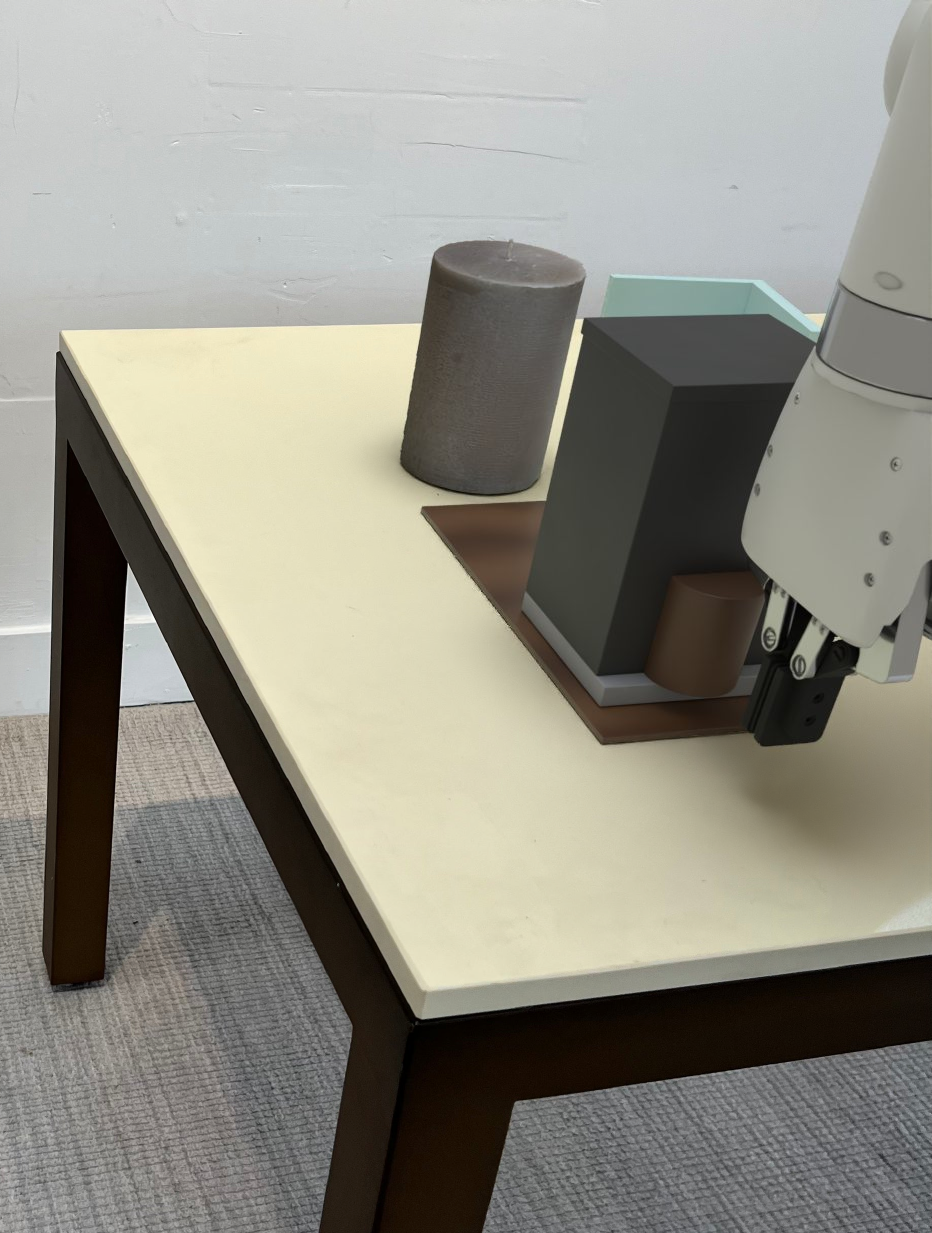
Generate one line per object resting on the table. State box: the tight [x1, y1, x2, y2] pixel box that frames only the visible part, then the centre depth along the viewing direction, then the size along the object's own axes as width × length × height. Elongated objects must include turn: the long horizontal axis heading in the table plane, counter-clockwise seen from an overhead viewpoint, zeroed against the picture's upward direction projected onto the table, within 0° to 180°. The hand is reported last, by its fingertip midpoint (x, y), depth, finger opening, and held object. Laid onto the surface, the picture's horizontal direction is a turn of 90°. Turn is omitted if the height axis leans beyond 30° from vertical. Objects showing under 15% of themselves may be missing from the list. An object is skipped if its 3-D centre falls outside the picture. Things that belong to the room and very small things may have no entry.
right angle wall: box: [599, 273, 822, 343], centre depth 106 cm, size 12×12×8 cm
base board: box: [420, 500, 751, 745], centre depth 80 cm, size 26×12×1 cm, turn 11°
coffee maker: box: [521, 314, 816, 707], centre depth 70 cm, size 12×10×16 cm
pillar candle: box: [399, 238, 587, 495], centre depth 91 cm, size 10×10×15 cm
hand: (779, 734), depth 65 cm, fingers closed
